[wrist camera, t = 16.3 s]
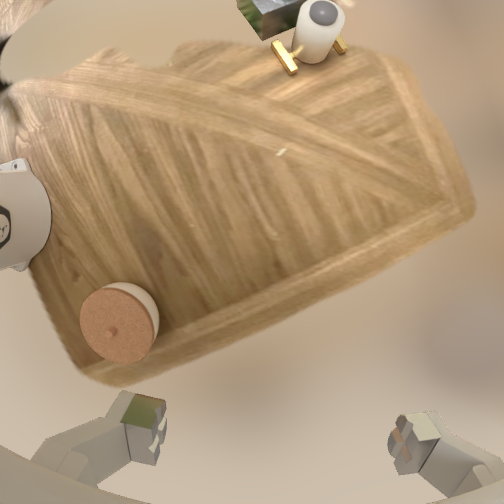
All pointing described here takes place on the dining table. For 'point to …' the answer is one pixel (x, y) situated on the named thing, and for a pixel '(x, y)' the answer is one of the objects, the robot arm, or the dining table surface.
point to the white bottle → (316, 30)
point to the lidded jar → (120, 322)
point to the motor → (278, 25)
